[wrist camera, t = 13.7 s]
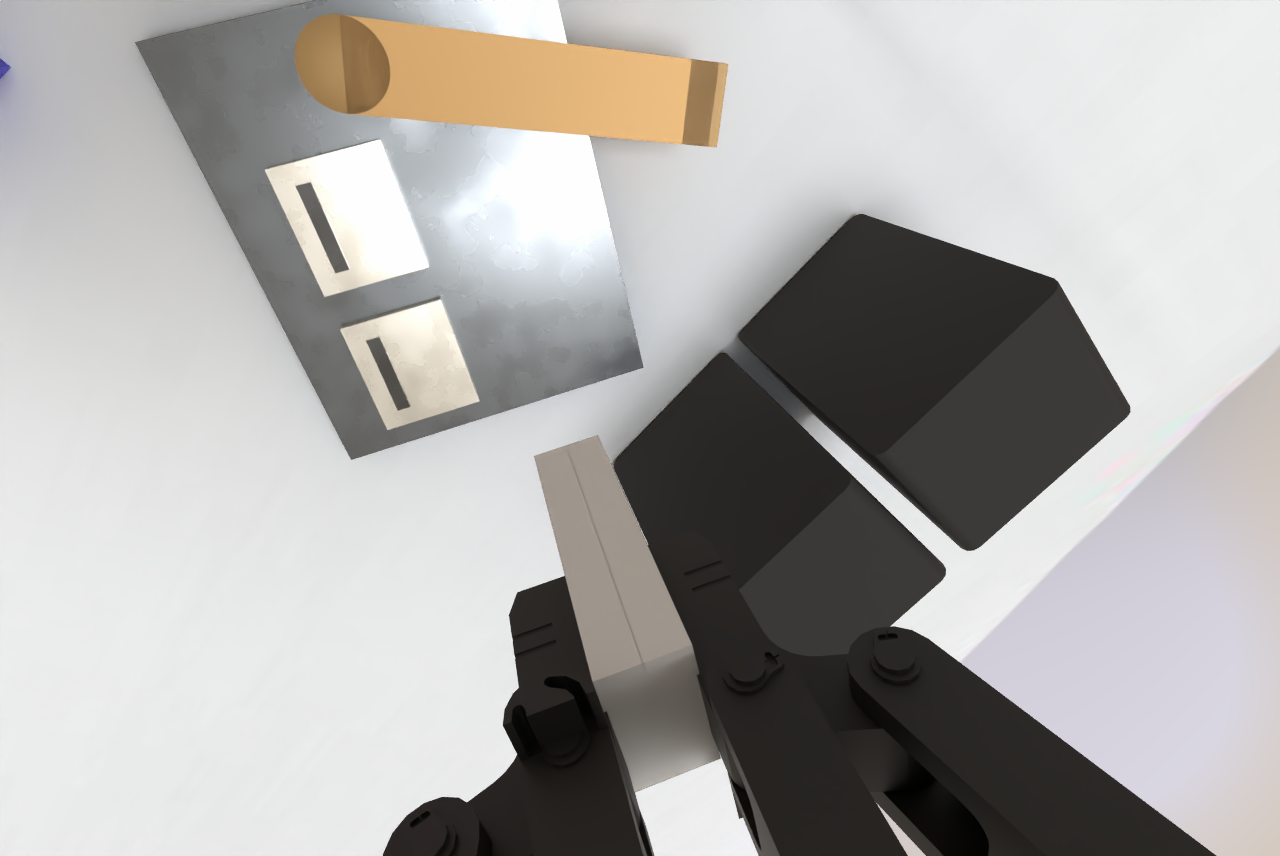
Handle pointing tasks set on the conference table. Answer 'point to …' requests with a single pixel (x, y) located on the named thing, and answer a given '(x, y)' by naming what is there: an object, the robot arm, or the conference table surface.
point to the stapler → (3, 68)
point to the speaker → (874, 429)
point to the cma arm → (508, 81)
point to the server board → (404, 228)
